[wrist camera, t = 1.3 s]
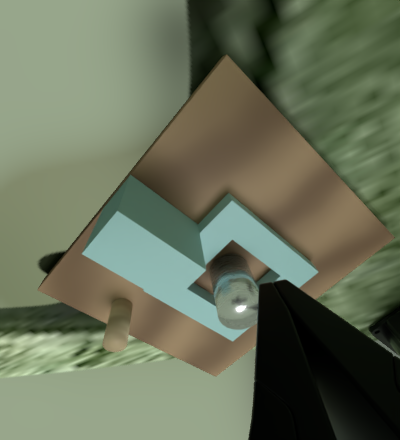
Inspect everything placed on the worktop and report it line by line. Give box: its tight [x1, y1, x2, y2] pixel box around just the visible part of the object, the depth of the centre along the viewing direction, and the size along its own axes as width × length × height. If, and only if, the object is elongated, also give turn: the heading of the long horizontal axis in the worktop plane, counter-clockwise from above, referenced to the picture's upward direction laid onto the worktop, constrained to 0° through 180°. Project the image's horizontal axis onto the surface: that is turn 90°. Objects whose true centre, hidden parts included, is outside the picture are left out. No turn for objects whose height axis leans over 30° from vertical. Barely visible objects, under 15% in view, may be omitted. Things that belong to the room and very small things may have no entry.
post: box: [209, 254, 259, 330], centre depth 20 cm, size 3×3×4 cm
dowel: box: [103, 298, 133, 352], centre depth 21 cm, size 2×2×4 cm
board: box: [38, 55, 395, 376], centre depth 22 cm, size 18×20×1 cm
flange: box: [82, 175, 318, 341], centre depth 18 cm, size 14×9×5 cm, turn 48°
